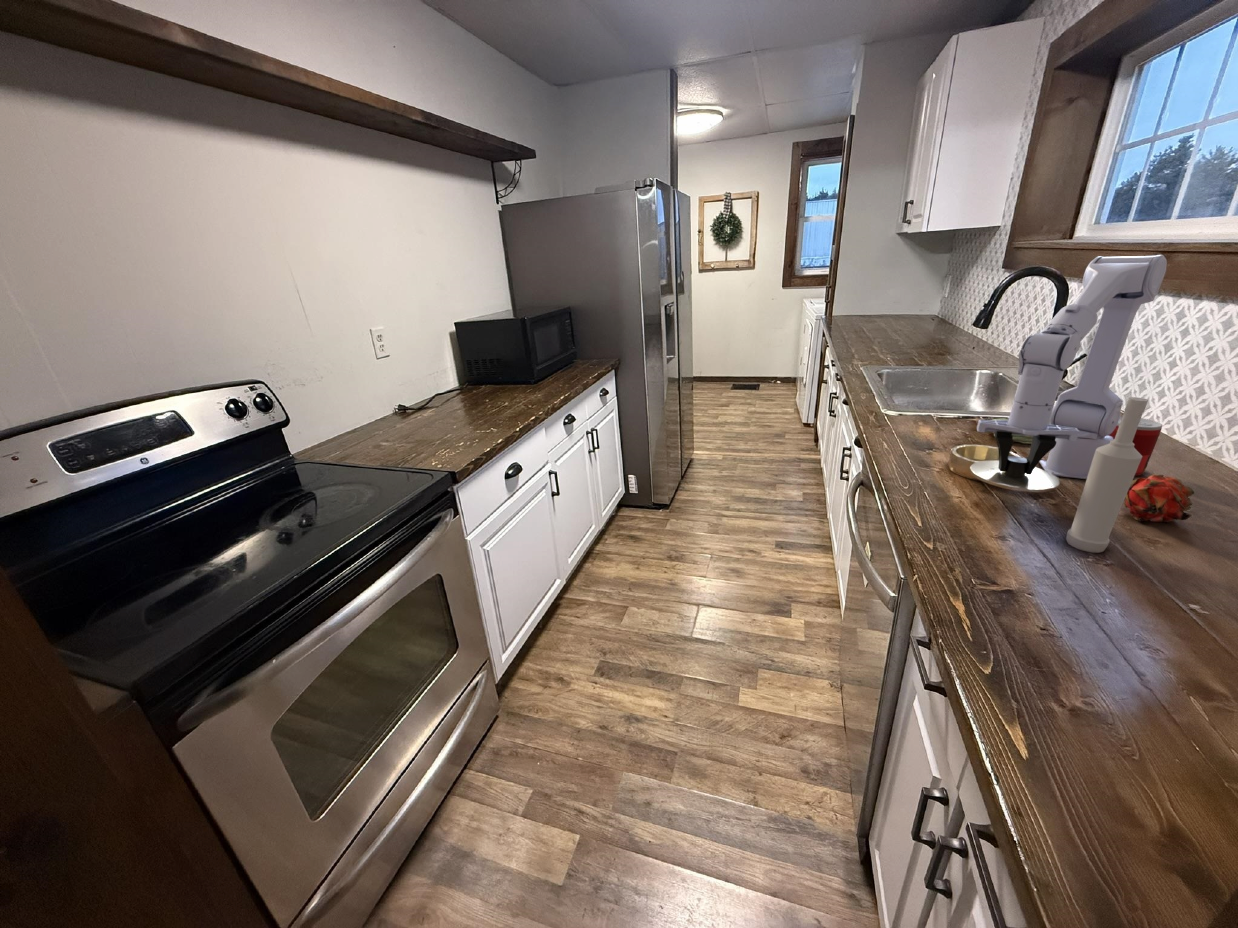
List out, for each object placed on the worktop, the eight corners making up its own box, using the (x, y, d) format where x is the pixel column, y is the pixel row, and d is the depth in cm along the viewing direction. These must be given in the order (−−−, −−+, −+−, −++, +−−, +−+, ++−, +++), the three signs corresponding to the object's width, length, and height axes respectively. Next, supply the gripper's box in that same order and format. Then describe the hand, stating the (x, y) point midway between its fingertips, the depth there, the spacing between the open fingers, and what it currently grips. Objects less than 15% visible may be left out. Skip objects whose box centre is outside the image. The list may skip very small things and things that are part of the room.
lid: (1048, 471, 98) (1054, 451, 96) (1067, 500, 87) (1074, 478, 85) (965, 462, 104) (969, 443, 102) (973, 488, 93) (978, 467, 91)
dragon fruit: (1156, 514, 94) (1144, 545, 87) (1114, 480, 96) (1100, 509, 90) (1210, 491, 87) (1201, 523, 81) (1164, 456, 89) (1152, 485, 83)
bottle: (1096, 539, 84) (1150, 395, 74) (1113, 555, 79) (1172, 404, 70) (1059, 535, 86) (1107, 394, 76) (1073, 550, 81) (1125, 403, 72)
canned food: (1153, 477, 104) (1173, 427, 100) (1108, 475, 106) (1126, 427, 102) (1127, 463, 111) (1144, 416, 107) (1085, 462, 113) (1101, 415, 109)
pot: (1011, 464, 113) (1015, 448, 112) (1022, 486, 103) (1027, 468, 102) (946, 457, 119) (949, 441, 117) (950, 477, 109) (954, 460, 107)
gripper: (988, 404, 89) (971, 473, 94) (1093, 411, 83) (1068, 485, 88) (982, 394, 95) (966, 460, 100) (1080, 400, 89) (1058, 470, 94)
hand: (1014, 471), depth 94 cm, fingers closed on lid, 3 cm apart
